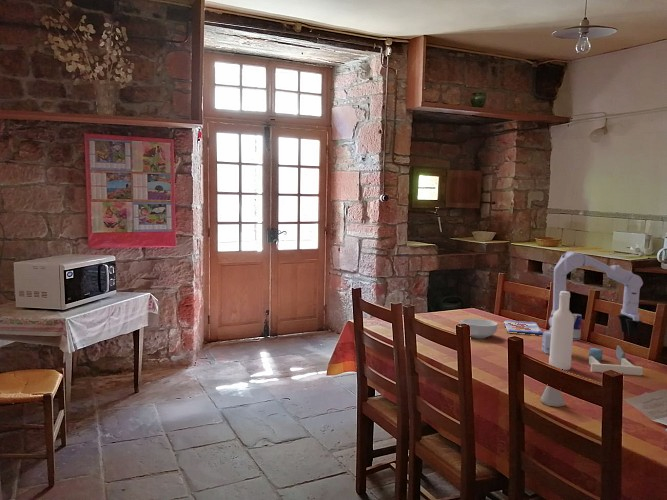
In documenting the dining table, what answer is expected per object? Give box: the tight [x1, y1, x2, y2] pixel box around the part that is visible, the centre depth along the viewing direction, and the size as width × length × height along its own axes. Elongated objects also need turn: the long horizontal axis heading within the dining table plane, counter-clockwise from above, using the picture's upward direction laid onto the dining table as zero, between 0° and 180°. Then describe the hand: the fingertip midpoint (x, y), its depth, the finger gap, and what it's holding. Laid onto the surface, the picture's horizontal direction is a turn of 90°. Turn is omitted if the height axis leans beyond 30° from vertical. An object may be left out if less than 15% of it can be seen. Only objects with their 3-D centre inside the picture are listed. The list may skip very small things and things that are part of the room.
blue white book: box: [503, 319, 544, 336], centre depth 270 cm, size 17×24×3 cm
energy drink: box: [572, 313, 583, 341], centre depth 252 cm, size 5×5×12 cm
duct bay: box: [588, 355, 644, 376], centre depth 208 cm, size 18×12×3 cm, turn 80°
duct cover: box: [615, 344, 626, 364], centre depth 219 cm, size 14×1×4 cm, turn 160°
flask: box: [540, 385, 566, 408], centre depth 170 cm, size 7×7×10 cm
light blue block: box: [588, 347, 604, 362], centre depth 221 cm, size 5×5×4 cm
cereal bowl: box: [460, 318, 499, 339], centre depth 253 cm, size 17×17×7 cm
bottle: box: [548, 290, 574, 371], centre depth 207 cm, size 8×8×30 cm
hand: (628, 334), depth 224 cm, fingers open, 7 cm apart
